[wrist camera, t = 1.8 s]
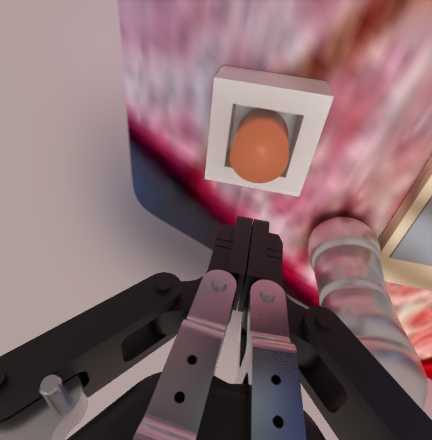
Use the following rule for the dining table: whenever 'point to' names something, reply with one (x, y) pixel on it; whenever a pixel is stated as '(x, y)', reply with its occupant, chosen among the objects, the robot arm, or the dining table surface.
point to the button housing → (269, 100)
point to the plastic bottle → (364, 298)
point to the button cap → (260, 147)
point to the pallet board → (410, 237)
